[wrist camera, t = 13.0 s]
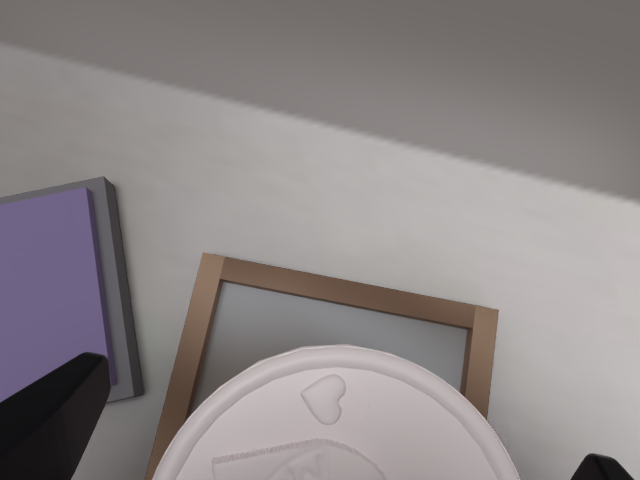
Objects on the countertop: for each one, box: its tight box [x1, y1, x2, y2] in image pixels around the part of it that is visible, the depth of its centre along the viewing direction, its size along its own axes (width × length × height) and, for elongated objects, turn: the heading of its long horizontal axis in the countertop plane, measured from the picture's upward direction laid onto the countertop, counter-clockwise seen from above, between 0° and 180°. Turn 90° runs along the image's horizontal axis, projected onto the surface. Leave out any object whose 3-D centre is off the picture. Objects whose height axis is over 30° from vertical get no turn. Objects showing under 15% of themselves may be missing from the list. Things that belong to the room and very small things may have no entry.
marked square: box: [145, 253, 499, 480], centre depth 17 cm, size 11×11×1 cm
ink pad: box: [0, 176, 144, 403], centre depth 18 cm, size 8×8×2 cm
